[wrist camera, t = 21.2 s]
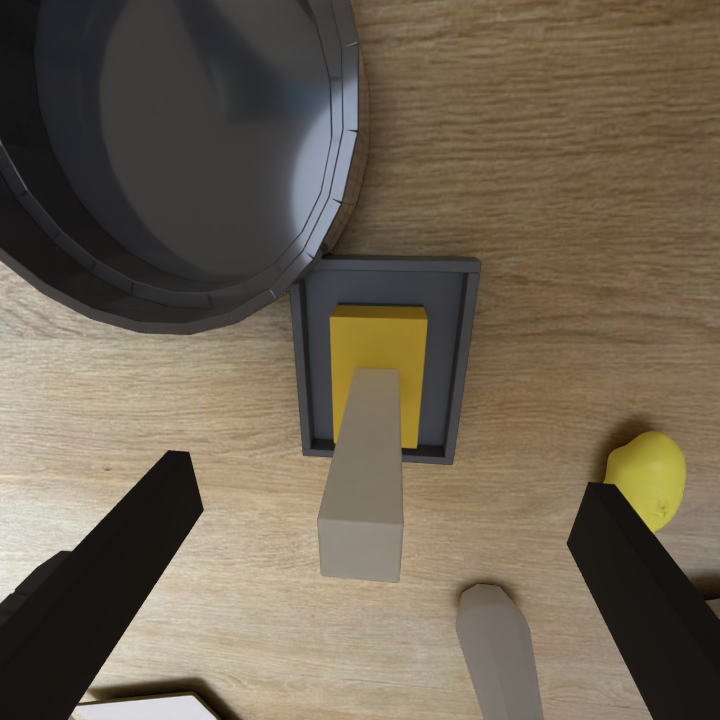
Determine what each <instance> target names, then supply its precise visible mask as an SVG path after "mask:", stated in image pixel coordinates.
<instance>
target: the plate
mask: <svg viewBox="0 0 720 720" xmlns="http://www.w3.org/2000/svg"><path fill="white" fill-rule="evenodd" d="M74 711H75V712H76V713H77V714H78V715H80V716H81V717H82V718H83V719H85V720H222V719H221V718H220V717H219V716H218V715H217V714H216V713H215V712H214V711H213V710H212V709H211V708H210V707H209V706H208V705H207V704H206V703H205V702H204V701H203V700H202V699H201V698H200V697H199V696H198V695H197V694H196V693H195V692H193V691H187V692H177V693H167V694H157V695H147V696H137V697H126V698H116V699H108V700H99V701H91V702H83V703H78V704H77V706H76V707H75V709H74Z"/></svg>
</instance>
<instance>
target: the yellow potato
mask: <svg viewBox="0 0 720 720" xmlns="http://www.w3.org/2000/svg"><path fill="white" fill-rule="evenodd" d="M686 472H687V471H686V463H685V458H684V455H683V452H682V450H681V449H680V447H679V446H678V445H677V444H676V443H675V442H674V441H673V440H672V439H671V438H670V437H669V436H668V435H666V434H664V433H662V432H657V431H650V432H645V433H642V434H640V435H639V436H637V437H636V438H634V439H633V440H632V441H631V442H629V443H628V444H627V445H625V446H622V447H619V448H616V449H615V450H613V451H612V452H611V453H610V455H609V457H608V462H607V471H606V476H605V481H604V482H603V483H606V484H615V485H616V486H617V487H618V489H619V490H620V491H621V493H622V494H623V495H624V497H625V498H626V499H627V500H628V502H629V503H630V504H631V506H632V507H633V508H634V509H635V511H636V512H637V513H638V515H639V516H640V517H641V519H642V520H643V521H644V522H645V524H646V525H647V526H648V528H649V529H650V530H651V531H652V533H653V532H656V531H657V530H659V529H660V528H662V527H663V526H664V525H665V524H667V523H668V522H669V521H670V520H671V519H672V518H673V517H674V515H675V513H676V511H677V509H678V507H679V506H680V504H681V501H682V496H683V492H684V487H685V482H686Z"/></svg>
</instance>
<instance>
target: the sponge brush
mask: <svg viewBox="0 0 720 720" xmlns="http://www.w3.org/2000/svg"><path fill="white" fill-rule="evenodd" d="M427 325H428V319H427V316H426V313H425V309H424V306H423V304H384V303H345V302H339V303H338V304H337V306H336V307H335V309H334V311H333V312H332V314H331V316H330V344H331V373H332V401H333V430H334V443H335V444H336V446H335V450H334V454H333V458H332V462H331V466H330V470H329V474H328V478H327V482H326V486H325V490H324V494H323V498H322V502H321V506H320V510H319V514H318V518H317V524H318V539H319V554H320V569H321V575H322V576H328V577H338V578H349V579H360V580H371V581H382V582H392V583H398V582H399V580H400V569H401V555H402V542H403V529H404V521H403V486H402V451H401V448H417V441H418V430H419V418H420V406H421V395H422V383H423V371H424V360H425V348H426V336H427Z"/></svg>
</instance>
